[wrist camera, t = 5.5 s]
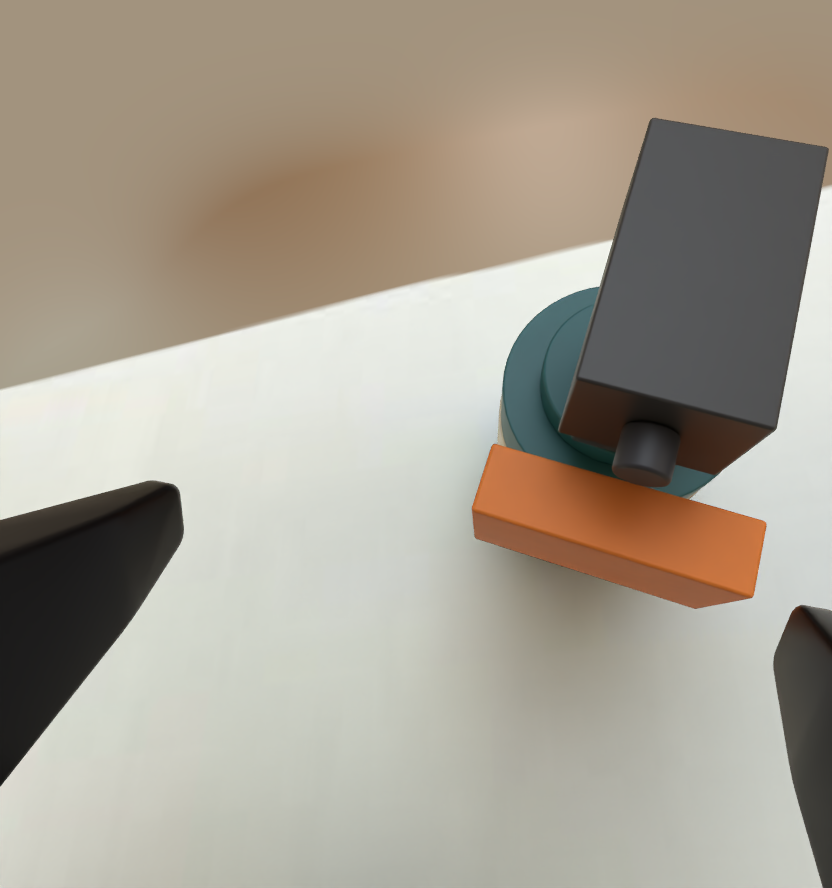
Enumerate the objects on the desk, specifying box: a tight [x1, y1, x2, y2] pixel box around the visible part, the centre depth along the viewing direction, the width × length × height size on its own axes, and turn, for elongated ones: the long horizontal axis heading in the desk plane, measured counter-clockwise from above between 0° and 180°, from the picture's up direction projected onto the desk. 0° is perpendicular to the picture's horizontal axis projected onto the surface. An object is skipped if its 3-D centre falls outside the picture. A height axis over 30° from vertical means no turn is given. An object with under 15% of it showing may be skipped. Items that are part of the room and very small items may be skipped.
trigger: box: [472, 444, 766, 609], centre depth 12 cm, size 1×5×3 cm, turn 71°
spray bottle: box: [497, 118, 829, 499], centre depth 17 cm, size 8×6×15 cm
